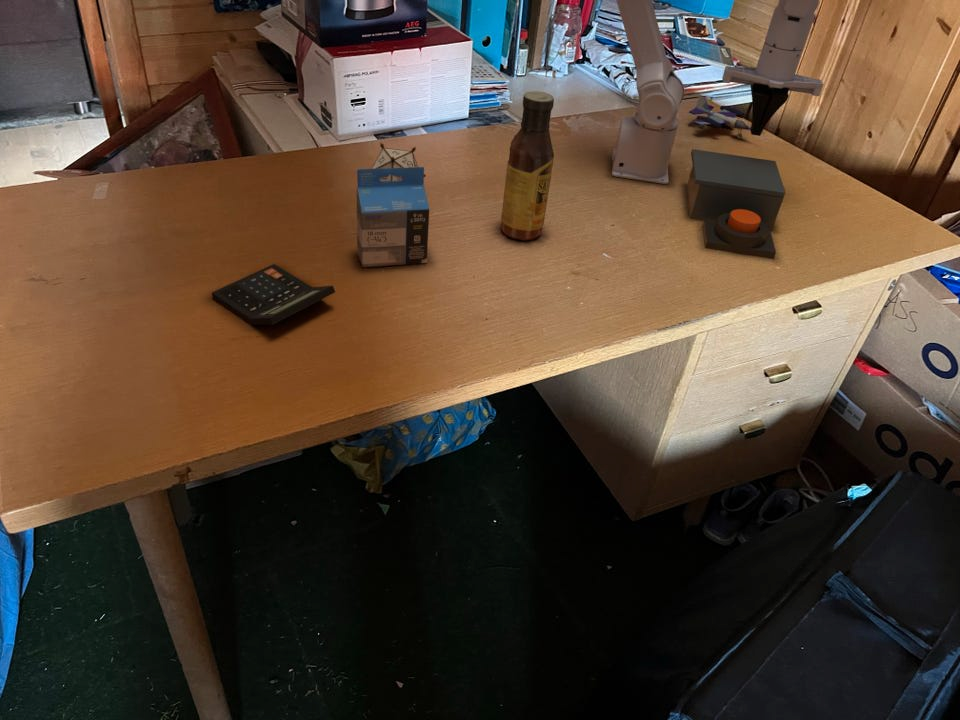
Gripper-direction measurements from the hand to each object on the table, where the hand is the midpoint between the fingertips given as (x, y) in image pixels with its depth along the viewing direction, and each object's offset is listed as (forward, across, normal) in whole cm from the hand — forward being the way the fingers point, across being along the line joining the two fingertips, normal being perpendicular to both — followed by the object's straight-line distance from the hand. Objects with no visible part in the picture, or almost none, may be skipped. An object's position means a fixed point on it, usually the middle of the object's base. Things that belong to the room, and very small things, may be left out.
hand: (755, 133), depth 120 cm
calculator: (+11, -60, -52) cm, 80 cm away
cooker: (+10, -2, -6) cm, 12 cm away
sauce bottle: (+11, -33, -25) cm, 43 cm away
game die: (+11, -53, -21) cm, 58 cm away
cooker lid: (+5, -2, -7) cm, 8 cm away
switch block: (+10, -1, -18) cm, 20 cm away
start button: (+8, -1, -17) cm, 19 cm away
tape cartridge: (+11, -49, -38) cm, 63 cm away
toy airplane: (+11, -1, +26) cm, 29 cm away
